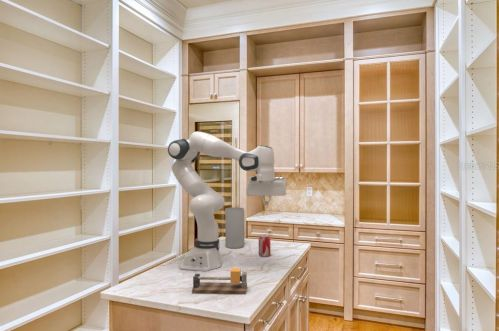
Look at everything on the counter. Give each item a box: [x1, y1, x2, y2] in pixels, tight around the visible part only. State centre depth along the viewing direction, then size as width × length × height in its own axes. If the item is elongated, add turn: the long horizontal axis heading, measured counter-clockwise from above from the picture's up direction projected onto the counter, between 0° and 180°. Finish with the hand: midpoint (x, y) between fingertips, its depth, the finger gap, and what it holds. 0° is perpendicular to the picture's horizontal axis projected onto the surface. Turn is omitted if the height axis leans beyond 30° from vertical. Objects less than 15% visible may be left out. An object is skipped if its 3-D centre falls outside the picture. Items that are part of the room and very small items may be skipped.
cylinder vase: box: [224, 206, 245, 249], centre depth 218 cm, size 12×12×25 cm
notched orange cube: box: [230, 267, 242, 283], centre depth 144 cm, size 4×4×5 cm
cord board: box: [191, 271, 248, 295], centre depth 144 cm, size 23×9×8 cm, turn 86°
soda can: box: [258, 234, 271, 258], centre depth 196 cm, size 7×7×12 cm
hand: (266, 204), depth 167 cm, fingers closed
